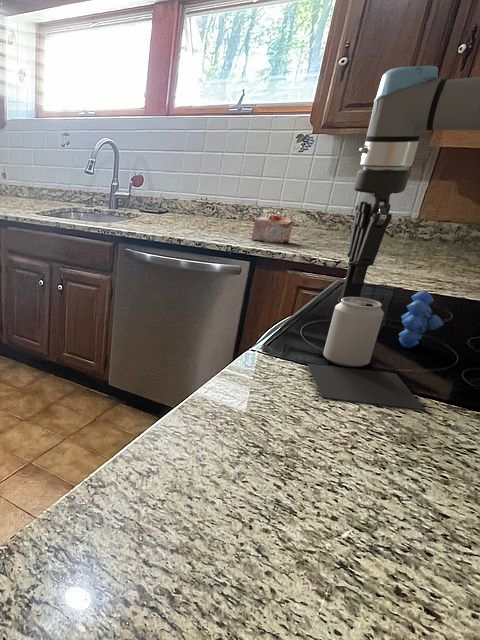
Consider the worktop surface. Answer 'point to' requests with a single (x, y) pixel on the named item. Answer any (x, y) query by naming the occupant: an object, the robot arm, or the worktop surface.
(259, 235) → the food item
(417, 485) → the worktop surface
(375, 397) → the mat
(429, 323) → the grapes
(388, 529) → the worktop surface
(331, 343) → the can
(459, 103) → the robot arm
